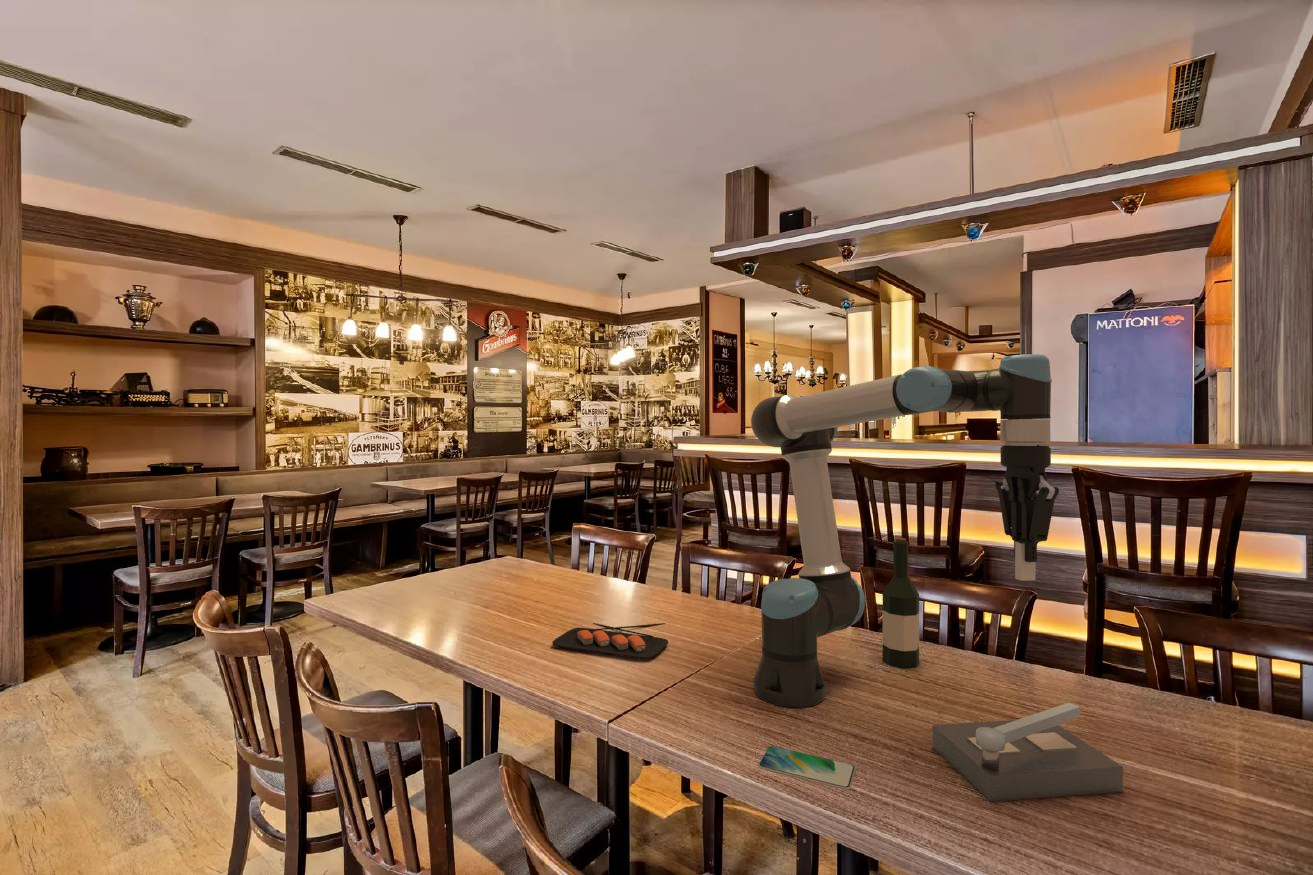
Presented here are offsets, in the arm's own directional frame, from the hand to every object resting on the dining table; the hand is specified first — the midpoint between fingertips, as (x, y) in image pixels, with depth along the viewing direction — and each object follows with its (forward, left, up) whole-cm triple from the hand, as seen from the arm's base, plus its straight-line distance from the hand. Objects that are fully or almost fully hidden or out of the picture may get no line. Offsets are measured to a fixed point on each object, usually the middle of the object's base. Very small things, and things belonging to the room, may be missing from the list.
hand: (1025, 579), depth 107 cm
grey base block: (-4, -5, -30) cm, 31 cm away
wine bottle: (-1, +41, -31) cm, 51 cm away
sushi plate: (-67, +67, -31) cm, 100 cm away
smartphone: (-40, 0, -31) cm, 50 cm away
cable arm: (-4, -6, -23) cm, 24 cm away
